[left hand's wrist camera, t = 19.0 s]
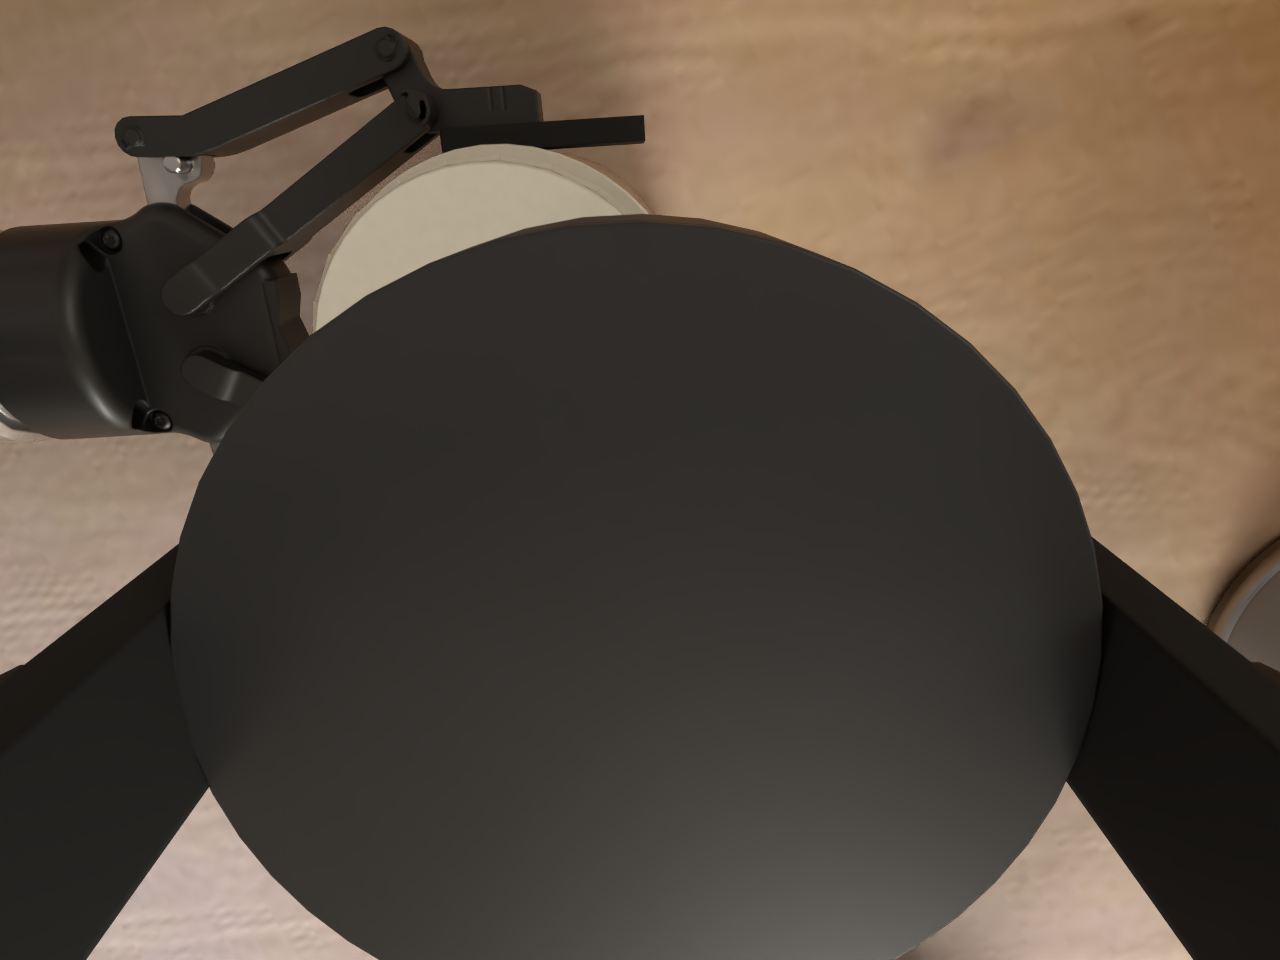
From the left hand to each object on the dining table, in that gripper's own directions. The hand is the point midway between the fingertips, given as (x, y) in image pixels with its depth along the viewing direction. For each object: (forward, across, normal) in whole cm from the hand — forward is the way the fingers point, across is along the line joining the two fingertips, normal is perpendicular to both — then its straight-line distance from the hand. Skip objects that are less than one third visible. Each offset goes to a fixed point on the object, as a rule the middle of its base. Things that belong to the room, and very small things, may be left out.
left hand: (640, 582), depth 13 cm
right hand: (+18, 0, -2) cm, 18 cm away
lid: (-3, 0, 0) cm, 3 cm away
